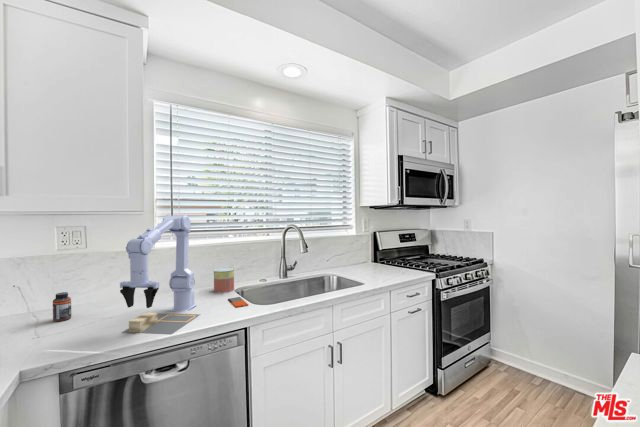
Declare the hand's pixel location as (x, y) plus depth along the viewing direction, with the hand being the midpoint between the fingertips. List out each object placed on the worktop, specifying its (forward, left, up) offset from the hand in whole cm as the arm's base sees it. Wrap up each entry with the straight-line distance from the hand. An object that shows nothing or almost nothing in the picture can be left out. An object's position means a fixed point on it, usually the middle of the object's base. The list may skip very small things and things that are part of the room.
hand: (139, 306), depth 111 cm
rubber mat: (-9, +3, -10) cm, 14 cm away
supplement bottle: (-10, -44, -10) cm, 46 cm away
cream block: (-4, -2, -9) cm, 10 cm away
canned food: (-61, +5, -10) cm, 62 cm away
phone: (-39, +22, -11) cm, 46 cm away
